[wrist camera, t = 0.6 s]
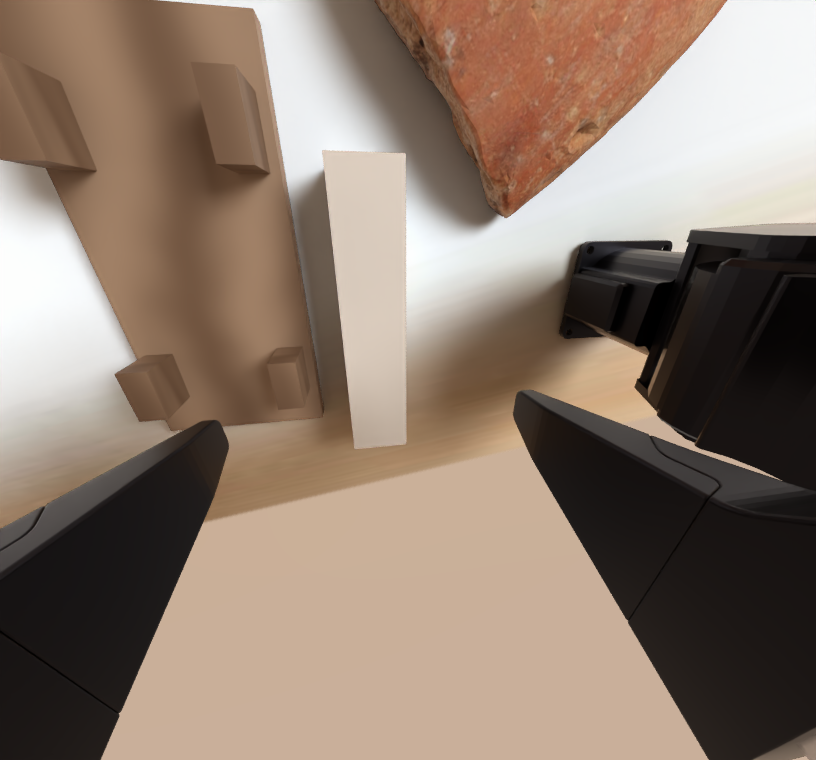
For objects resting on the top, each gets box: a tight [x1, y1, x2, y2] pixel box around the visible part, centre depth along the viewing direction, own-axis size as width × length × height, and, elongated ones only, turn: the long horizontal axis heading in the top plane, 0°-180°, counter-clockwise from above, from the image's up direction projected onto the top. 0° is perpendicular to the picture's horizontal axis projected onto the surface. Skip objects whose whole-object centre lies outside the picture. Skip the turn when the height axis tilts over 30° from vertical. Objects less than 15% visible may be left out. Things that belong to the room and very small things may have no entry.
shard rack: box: [0, 0, 324, 431], centre depth 15 cm, size 10×20×4 cm, turn 0°
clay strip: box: [322, 150, 406, 449], centre depth 18 cm, size 4×16×4 cm, turn 0°
